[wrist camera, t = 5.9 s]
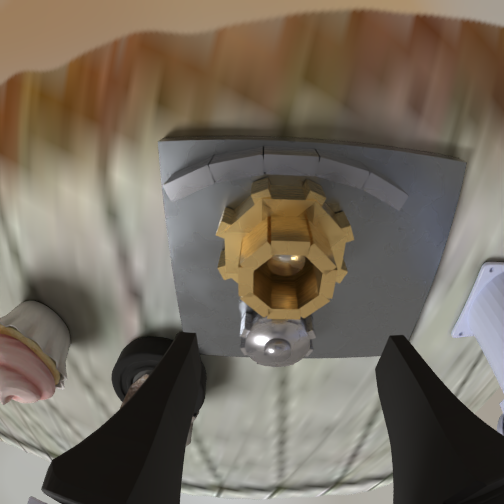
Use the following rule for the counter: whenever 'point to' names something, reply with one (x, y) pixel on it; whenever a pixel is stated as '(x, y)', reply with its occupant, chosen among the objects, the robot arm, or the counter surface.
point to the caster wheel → (146, 370)
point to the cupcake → (32, 353)
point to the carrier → (355, 255)
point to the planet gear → (284, 248)
